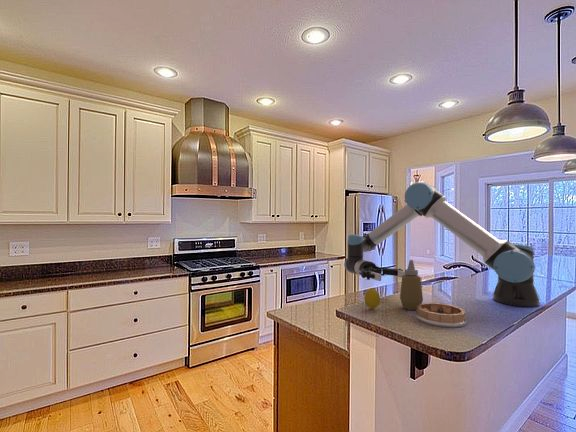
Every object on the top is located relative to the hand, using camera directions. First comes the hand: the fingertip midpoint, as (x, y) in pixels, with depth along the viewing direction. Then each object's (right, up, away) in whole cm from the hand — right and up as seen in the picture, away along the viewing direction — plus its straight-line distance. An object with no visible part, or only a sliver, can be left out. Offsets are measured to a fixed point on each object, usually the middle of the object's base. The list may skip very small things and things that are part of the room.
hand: (394, 276), depth 125 cm
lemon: (-12, -10, -11) cm, 19 cm away
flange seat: (+7, -10, -23) cm, 26 cm away
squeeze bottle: (+3, -10, -9) cm, 14 cm away
